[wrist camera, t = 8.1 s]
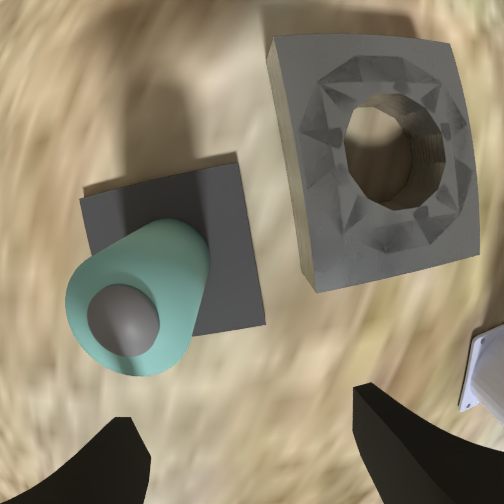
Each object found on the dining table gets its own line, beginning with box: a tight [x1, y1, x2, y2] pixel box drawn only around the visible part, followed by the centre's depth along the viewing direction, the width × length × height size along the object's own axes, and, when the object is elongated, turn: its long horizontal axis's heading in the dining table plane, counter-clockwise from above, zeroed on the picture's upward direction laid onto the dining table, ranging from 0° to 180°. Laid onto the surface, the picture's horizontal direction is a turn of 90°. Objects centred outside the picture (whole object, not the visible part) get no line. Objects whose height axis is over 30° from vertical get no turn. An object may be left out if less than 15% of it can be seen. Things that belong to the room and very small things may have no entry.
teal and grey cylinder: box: [65, 218, 211, 376], centre depth 13 cm, size 4×4×8 cm
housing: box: [266, 34, 480, 293], centre depth 15 cm, size 10×12×4 cm
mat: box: [79, 163, 266, 337], centre depth 17 cm, size 9×9×1 cm
